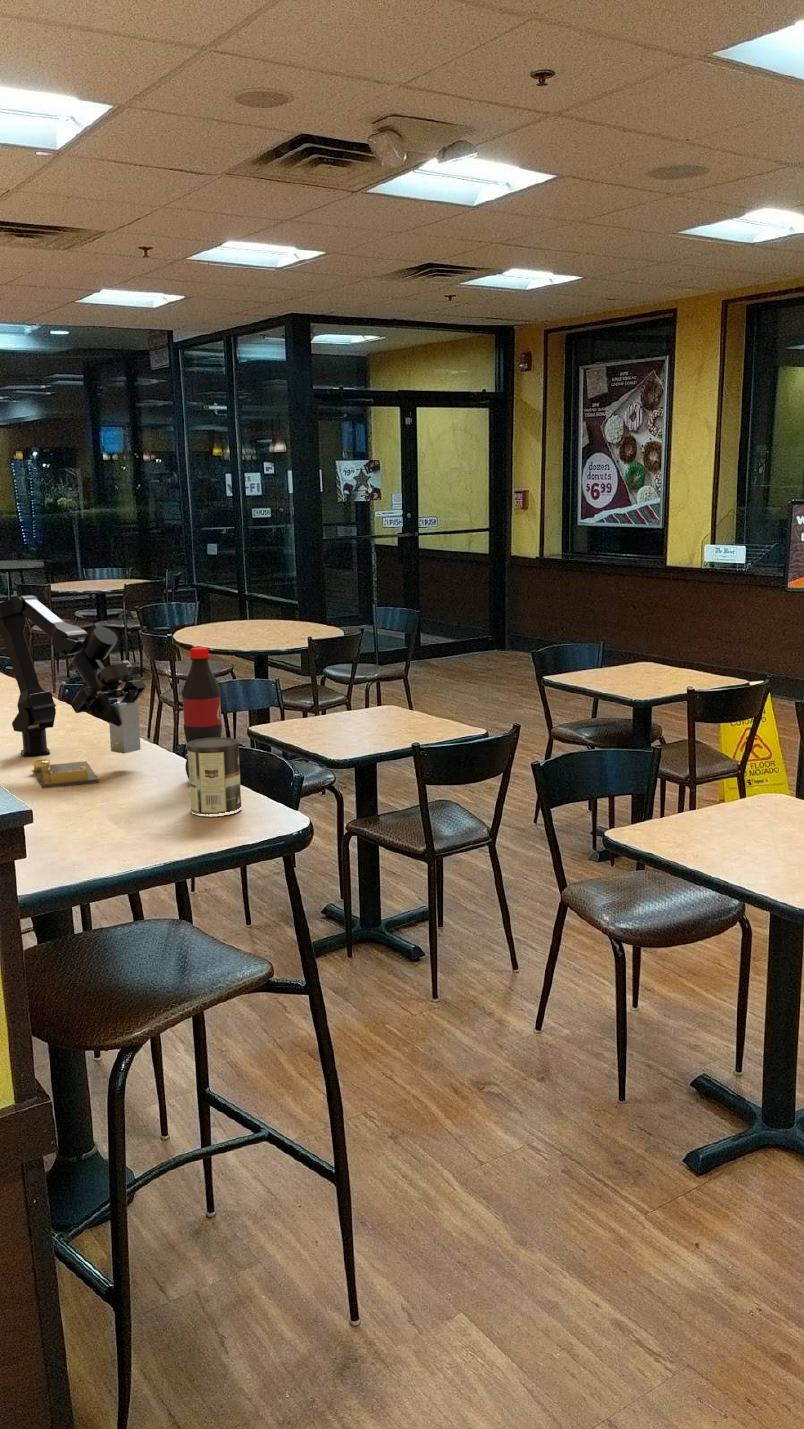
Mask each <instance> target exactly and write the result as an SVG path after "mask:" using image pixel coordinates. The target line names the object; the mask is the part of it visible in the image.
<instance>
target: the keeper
mask: <svg viewBox="0 0 804 1429" xmlns="http://www.w3.org/2000/svg"><path fill="white" fill-rule="evenodd" d="M33 770H34V772H35V775H36V778H37V779H38V781H39V784H40V787H41V788H42V789H50V788H59V787H60V788H61V787H68V786H79V785H88V784H98V783H99V782H100V781H99V778H98V776H97V775H96V773H95V772H94V771H93V769H92V768H91V766H90V764H89V763H88V762H87V761H75V762H65V763H56V764H54V763H53V764H51V761H50V759H45V758H44V759H38V760H36V759H35V760H34V761H33Z"/></svg>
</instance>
